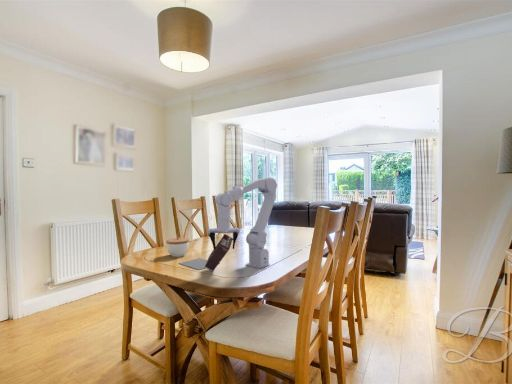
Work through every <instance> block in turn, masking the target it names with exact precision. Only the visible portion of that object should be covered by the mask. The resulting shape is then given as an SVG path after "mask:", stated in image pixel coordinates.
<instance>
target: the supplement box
mask: <svg viewBox="0 0 512 384" xmlns="http://www.w3.org/2000/svg"><path fill="white" fill-rule="evenodd" d="M232 244H233V237H231V236H229V235H227V233H223V235H222V237H221V239H220V240H219V241H218V243H217V244H216V248H215V249H214V248H213V250H212V251H211V253H210V254H209V255H208V257H207V259H206V260H207V262H206V264H205V269H206V270H208V271H210V272H214V271H215V270H216V268H217V267H218V266H219V265H220V264H219V263H221V261H222V260H223V259H224V257H225V256H226V255H227V253H228V252H229V250H230V248H231V245H232Z"/></svg>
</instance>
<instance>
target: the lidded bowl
mask: <svg viewBox="0 0 512 384" xmlns="http://www.w3.org/2000/svg"><path fill="white" fill-rule="evenodd" d="M189 246H190V238H187V237H179V236H176V237H174V238H169V239H166V249H167V252H168V254H169V255H171V257H173V258H180V257H184V256H185V255H186V254H187V253H188V251H189Z"/></svg>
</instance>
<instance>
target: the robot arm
mask: <svg viewBox="0 0 512 384" xmlns="http://www.w3.org/2000/svg"><path fill="white" fill-rule="evenodd" d="M277 187H278V183H277V181H276V179H275V178H274V177H264V178H262V177H260V178H257V179H254V180H253V181H251V182H249V183H247V184H244V185H243V186H241V187H240V186H235V185H233V186H232V188H231V189H229V190H224V193H222V192H221V193H218V194H217V195H216V197H215V199H214V202H215V204H216V206H217V227H216V228H208V229H207V234H208V236H209V239H210V241H211V244H212V247H213V250H214V249H215V248H216V246H217V244H216V234H232V238H233V240H232V250H235V244H236V242H237V239H238V236H239V234H240V233H241V228H239V227H237V228H235V227H231V205H232V203H234V202H236V201H237V200H240V199H242V198H243V197H244V195H245V194H246V193H249V192H251V191H253V190H256V189H257V190H258V191H259V192H260V193H261V194H262V196H263V198H264V199H263V201H262V204H261V207H260V210H259V213H258V215H257V219H256V222H255V224H254V226H253V227H252V228H250V229H249V230H250V231H249V233H248V234H247V235H246V237H245V240H246V243H247V244H248V262H247V263H245V266H249V267H252V268H257V269H262V268H264V267H267V266H270V261H269V257H270V255H269V250H268V249H267V248H265V246H266V243H267V236H268V233H267V231H266V228H267V225H268V223H269V219H270V216H271V213H272V210H273V207H274V204H275V201H276V198H277V193H276V192H277V191H276V190H277Z"/></svg>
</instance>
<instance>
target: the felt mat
mask: <svg viewBox="0 0 512 384" xmlns="http://www.w3.org/2000/svg"><path fill="white" fill-rule="evenodd" d="M207 260H208V259H205V258H201V257H198V258H194V259H191V260H186V261H182V262H178V265H181V266H184V267H187V268H190V269H193V270H196V271H200V270H204V269H206V268H205V264H206V262H207ZM220 263H221V262H220ZM220 263H219V264H218V265H220Z"/></svg>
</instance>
